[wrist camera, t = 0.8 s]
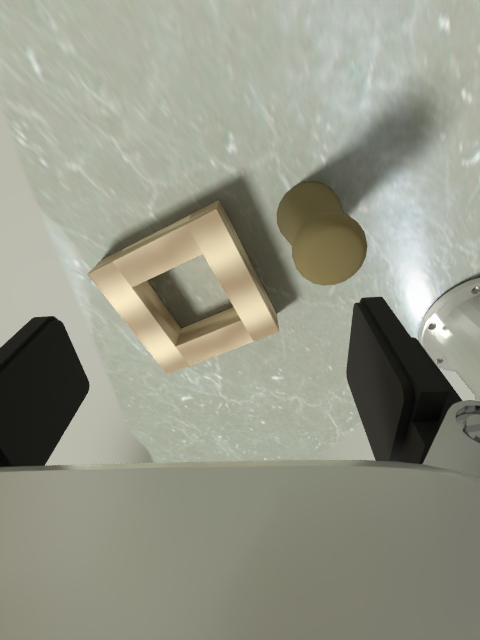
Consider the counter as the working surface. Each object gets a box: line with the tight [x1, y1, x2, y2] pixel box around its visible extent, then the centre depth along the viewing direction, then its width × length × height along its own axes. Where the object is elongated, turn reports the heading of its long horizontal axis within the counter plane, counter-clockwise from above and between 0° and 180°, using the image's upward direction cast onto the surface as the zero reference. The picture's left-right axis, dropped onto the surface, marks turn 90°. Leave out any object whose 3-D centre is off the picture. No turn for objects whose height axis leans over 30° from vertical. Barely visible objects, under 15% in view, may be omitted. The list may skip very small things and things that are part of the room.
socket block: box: [87, 200, 279, 374], centre depth 34 cm, size 14×14×4 cm
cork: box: [277, 182, 367, 285], centre depth 27 cm, size 6×6×11 cm
